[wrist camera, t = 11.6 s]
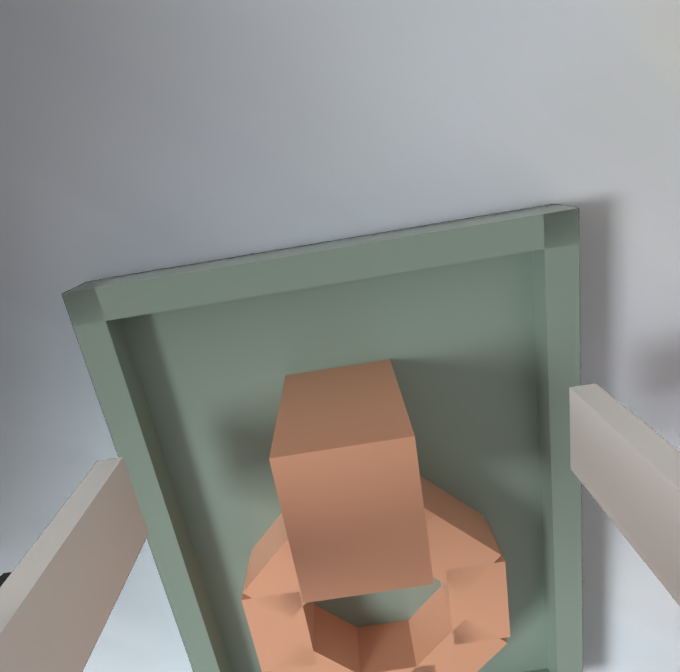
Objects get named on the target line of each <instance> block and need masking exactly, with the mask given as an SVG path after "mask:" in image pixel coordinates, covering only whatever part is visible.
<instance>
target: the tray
mask: <svg viewBox="0 0 680 672" xmlns="http://www.w3.org/2000/svg"><path fill="white" fill-rule="evenodd" d="M62 297H63V300H64V303H65V306H66V309H67V311H68V314H69V317H70V320H71V323H72V326H73V329H74V331H75V334H76V337H77V340H78V343H79V346H80V349H81V351H82V354H83V357H84V360H85V363H86V366H87V369H88V371H89V374H90V377H91V380H92V383H93V386H94V389H95V392H96V394H97V397H98V400H99V403H100V406H101V409H102V412H103V414H104V417H105V420H106V423H107V426H108V429H109V432H110V434H111V437H112V440H113V443H114V446H115V449H116V452H117V454H118V457H119V458H120V457H123V459H124V462H125V465H126V468H127V471H128V474H129V476H130V479H131V482H132V485H133V488H134V491H135V494H136V497H137V500H138V502H139V505H140V508H141V511H142V514H143V517H144V520H145V523H146V526H147V528H148V531H149V534H148V536H147V540H148V543H149V546H150V549H151V552H152V555H153V558H154V560H155V563H156V566H157V569H158V572H159V575H160V578H161V580H162V583H163V586H164V589H165V592H166V595H167V598H168V600H169V603H170V606H171V609H172V612H173V615H174V618H175V620H176V623H177V626H178V629H179V632H180V635H181V638H182V641H183V643H184V646H185V649H186V652H187V655H188V658H189V661H190V663H191V666H192V669H193V672H262V670H261V667H260V663H259V660H258V656H257V653H256V649H255V646H254V642H253V639H252V636H251V632H250V629H249V625H248V622H247V618H246V615H245V611H244V608H243V604H242V601H241V599H242V594H243V588H244V583H245V578H246V573H247V568H248V563H249V558H250V554H251V550H252V549H253V548H254V546H255V545H256V544H257V543H258V541H259V540H260V539H261V538H262V536H263V535H264V534H265V533H266V532H267V530H268V529H269V528H270V527H271V525H272V524H273V523H274V522H275V520H276V519H277V518H278V517H279V516H280V514H281V513H282V511H281V507H280V503H279V498H278V494H277V490H276V486H275V482H274V477H273V473H272V469H271V465H270V461H269V456H270V451H271V446H272V441H273V436H274V430H275V425H276V420H277V415H278V410H279V405H280V400H281V395H282V390H283V385H284V379H285V375H291V374H298V373H304V372H310V371H317V370H323V369H329V368H336V367H342V366H348V365H354V364H361V363H367V362H373V361H380V360H386V359H390V360H391V364H392V367H393V370H394V373H395V376H396V379H397V382H398V385H399V388H400V391H401V395H402V398H403V401H404V404H405V407H406V410H407V413H408V416H409V419H410V423H411V426H412V429H413V432H414V435H415V441H416V449H417V457H418V465H419V472H420V476H422V477H423V478H425V479H426V480H428V481H429V482H431V483H433V484H434V485H436V486H437V487H439V488H441V489H442V490H444V491H445V492H447V493H448V494H450V495H452V496H453V497H455V498H456V499H458V500H460V501H461V502H463V503H464V504H466V505H467V506H469V507H471V508H472V509H474V510H475V511H477V512H479V513H480V514H482V515H483V516H484V517H485V520H486V522H488V524H489V526H490V528H491V531H492V533H493V535H494V537H495V540H496V542H497V544H498V546H499V549H500V551H501V553H502V555H503V558H504V560H505V565H506V580H507V594H508V609H509V623H510V637H506V640H507V644H506V645H505V646H504V647H503V648H502V649H501V650H500V651H499V652H498V653H497V654H496V655H494V656H493V657H492V658H491V659H490V660H489V661H488V662H487V663H486V664H485V665H484V666H483V667H482V668H481V669H479V670H478V671H477V672H583V629H582V514H581V481H580V480H579V479H578V478H577V476H576V475H575V474H574V473H573V471H572V470H571V464H570V402H569V387H574V386H580V283H579V208H576V207H570V206H564V205H559V204H550V205H544V206H538V207H532V208H526V209H520V210H514V211H508V212H502V213H496V214H490V215H484V216H478V217H472V218H466V219H460V220H454V221H448V222H442V223H436V224H430V225H424V226H418V227H412V228H406V229H400V230H394V231H388V232H382V233H376V234H370V235H364V236H358V237H352V238H346V239H340V240H334V241H328V242H322V243H316V244H310V245H304V246H298V247H292V248H286V249H280V250H274V251H268V252H262V253H256V254H250V255H244V256H238V257H232V258H226V259H220V260H214V261H208V262H202V263H196V264H190V265H184V266H178V267H172V268H166V269H160V270H154V271H148V272H142V273H136V274H130V275H124V276H118V277H112V278H106V279H100V280H94V281H88V282H85V283H83V284H81V285H79V286H77V287H75V288H72V289H70V290H68V291H66V292H64V293H62ZM433 581H434V584H432V585H425V586H419V587H412V588H405V589H398V590H391V591H384V592H377V593H370V594H364V595H357V596H350V597H343V598H336V599H329V600H322V601H316V602H314V604H315V605H316V606H318V607H320V608H322V609H324V610H326V611H327V612H329V613H331V614H333V615H335V616H337V617H339V618H340V619H342V620H344V621H346V622H348V623H350V624H352V625H354V626H355V627H363V626H370V625H377V624H384V623H391V622H398V621H405V620H409V619H410V618H411V617H412V616H413V615H414V614H415V613H416V611H417V610H418V609H419V608H420V607H421V606H422V605H423V604H424V603H425V602H426V601H427V600H428V599H429V598H430V597H431V596H432V595H433V594H434V593H435V592H436V591H437V590H438V589H439V588H440V587H441V582H440V581H439V580H438V579H436V578H434V577H433ZM267 672H268V671H267Z"/></svg>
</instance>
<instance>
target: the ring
mask: <svg viewBox="0 0 680 672" xmlns="http://www.w3.org/2000/svg"><path fill="white" fill-rule="evenodd" d="M269 461H270V465H271V469H272V473H273V477H274V482H275V486H276V490H277V494H278V498H279V503H280V507H281V511H282V513H281V514H280V516H279V517H278V518H277V519H276V520H275V522H274V523H273V524H272V525H271V527H270V528H269V529H268V530H267V532H266V533H265V534H264V535H263V536H262V538H261V539H260V540H259V541H258V543H257V544H256V545H255V546H254V548H253V549H252V550H251V554H250V558H249V563H248V568H247V573H246V578H245V583H244V588H243V594H242V599H241V601H242V604H243V608H244V611H245V615H246V618H247V622H248V625H249V629H250V632H251V636H252V639H253V642H254V646H255V649H256V653H257V656H258V660H259V663H260V667H261V670H262V672H267V671H268V672H477V671H478V670H479V669H481V668H482V667H483V666H484V665H485V664H486V663H487V662H488V661H489V660H490V659H491V658H492V657H493V656H494V655H496V654H497V653H498V652H499V651H500V650H501V649H502V648H503V647H504V646H505V645H506V644H507V640H506V637H510V623H509V609H508V594H507V580H506V565H505V560H504V558H503V555H502V553H501V551H500V549H499V546H498V544H497V542H496V540H495V537H494V535H493V533H492V531H491V528H490V526H489V524H488V522H486V520H485V517H484V516H483V515H482V514H480V513H479V512H477V511H475V510H474V509H472V508H471V507H469V506H467V505H466V504H464V503H463V502H461V501H460V500H458V499H456V498H455V497H453V496H452V495H450V494H448V493H447V492H445V491H444V490H442V489H441V488H439V487H437V486H436V485H434V484H433V483H431V482H429V481H428V480H426V479H425V478H423V477H422V476H420V472H419V465H418V457H417V449H416V441H415V435H414V432H413V429H412V426H411V423H410V419H409V416H408V413H407V410H406V407H405V404H404V401H403V398H402V395H401V391H400V388H399V385H398V382H397V379H396V376H395V373H394V370H393V367H392V364H391V360H390V359H386V360H380V361H373V362H367V363H361V364H354V365H348V366H342V367H336V368H329V369H323V370H317V371H310V372H304V373H298V374H291V375H285V379H284V385H283V390H282V395H281V400H280V405H279V410H278V415H277V420H276V425H275V430H274V436H273V441H272V446H271V451H270V456H269ZM433 577H434V578H436V579H438V580H439V581H440V582H441V587H440V588H439V589H438V590H437V591H436V592H435V593H434V594H433V595H432V596H431V597H430V598H429V599H428V600H427V601H426V602H425V603H424V604H423V605H422V606H421V607H420V608H419V609H418V610H417V611H416V613H415V614H414V615H413V616H412V617H411V618H410V619H409V620H405V621H398V622H391V623H384V624H377V625H370V626H363V627H355V626H354V625H352V624H350V623H348V622H346V621H344V620H342V619H340V618H339V617H337V616H335V615H333V614H331V613H329V612H327V611H326V610H324V609H322V608H320V607H318V606H316V605H315V604H314V602H316V601H322V600H329V599H336V598H343V597H350V596H357V595H364V594H370V593H377V592H384V591H391V590H398V589H405V588H412V587H419V586H425V585H432V584H434V581H433Z"/></svg>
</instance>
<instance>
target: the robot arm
mask: <svg viewBox="0 0 680 672" xmlns="http://www.w3.org/2000/svg"><path fill="white" fill-rule="evenodd" d="M569 402H570V464H571V470H572V471H573V473H574V474H575V475H576V476H577V478H578V479H579V480H580V481H581V483H582V484H583V485H584V486H585V488H586V489H587V490H588V492H589V493H590V494H591V495H592V497H593V498H594V499H595V500H596V502H597V503H598V504H599V505H600V507H601V508H602V509H603V510H604V512H605V513H606V514H607V515H608V517H609V518H610V519H611V520H612V522H613V523H614V524H615V525H616V527H617V528H618V529H619V530H620V532H621V533H622V534H623V535H624V537H625V538H626V539H627V540H628V542H629V543H630V544H631V546H632V547H633V548H634V549H635V551H636V552H637V553H638V554H639V556H640V557H641V558H642V559H643V561H644V562H645V563H646V564H647V566H648V567H649V568H650V569H651V571H652V572H653V573H654V574H655V576H656V577H657V578H658V579H659V581H660V582H661V583H662V584H663V586H664V587H665V588H666V589H667V591H668V592H669V593H670V594H671V596H672V597H673V598H674V600H675V601H676V602H677V603H678V605H679V606H680V451H678V450H677V449H676V448H675V447H673V446H672V445H671V444H670V443H669V442H667V441H666V440H665V439H664V438H662V437H661V436H660V435H659V434H658V433H656V432H655V431H654V430H653V429H651V428H650V427H649V426H648V425H647V424H645V423H644V422H643V421H642V420H640V419H639V418H638V417H637V416H636V415H634V414H633V413H632V412H631V411H629V410H628V409H627V408H626V407H625V406H623V405H622V404H621V403H620V402H618V401H617V400H616V399H615V398H614V397H612V396H611V395H610V394H609V393H607V392H606V391H605V390H604V389H603V388H601V387H600V386H599V385H598V384H596V383H594V384H587V385H581V386H574V387H569ZM148 534H149V531H148V528H147V526H146V523H145V520H144V517H143V514H142V511H141V508H140V505H139V502H138V500H137V497H136V494H135V491H134V488H133V485H132V482H131V479H130V476H129V474H128V471H127V468H126V465H125V462H124V459H123V457H120V458H113V459H107V460H101V461H97V462H96V463H95V465H94V466H93V467H92V469H91V470H90V471H89V473H88V474H87V475H86V476H85V478H84V479H83V480H82V482H81V483H80V484H79V486H78V487H77V488H76V489H75V491H74V492H73V493H72V495H71V496H70V497H69V499H68V500H67V501H66V502H65V504H64V505H63V506H62V508H61V509H60V510H59V512H58V513H57V514H56V516H55V517H54V518H53V519H52V521H51V522H50V523H49V525H48V526H47V527H46V529H45V530H44V531H43V532H42V534H41V535H40V536H39V538H38V539H37V540H36V542H35V543H34V544H33V545H32V547H31V548H30V549H29V551H28V552H27V553H26V555H25V556H24V557H23V558H22V560H21V561H20V562H19V564H18V565H17V566H16V568H15V569H14V570H13V571H12V572H10V573H3V574H2V575H1V576H0V672H83V670H84V667H85V665H86V663H87V661H88V659H89V657H90V655H91V653H92V651H93V649H94V647H95V645H96V642H97V640H98V638H99V636H100V634H101V632H102V630H103V628H104V626H105V624H106V622H107V620H108V617H109V615H110V613H111V611H112V609H113V607H114V605H115V603H116V601H117V599H118V597H119V595H120V592H121V590H122V588H123V586H124V584H125V582H126V580H127V578H128V576H129V574H130V572H131V570H132V567H133V565H134V563H135V561H136V559H137V557H138V555H139V553H140V551H141V549H142V547H143V544H144V542H145V540H146V538H147V536H148Z"/></svg>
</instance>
